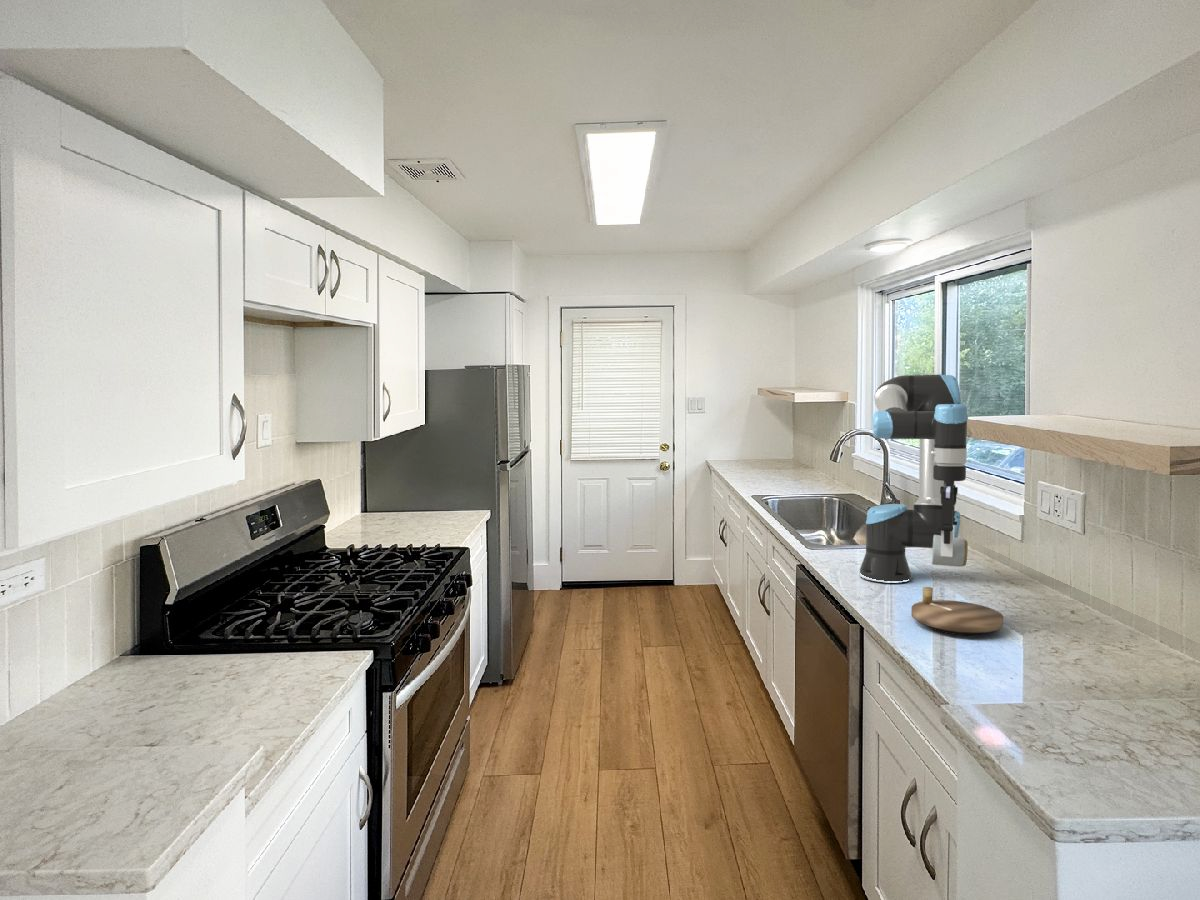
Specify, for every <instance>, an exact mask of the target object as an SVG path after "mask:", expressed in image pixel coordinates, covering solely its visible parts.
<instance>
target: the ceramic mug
mask: <svg viewBox="0 0 1200 900" xmlns="http://www.w3.org/2000/svg"><path fill="white" fill-rule="evenodd" d="M968 548H969V546H968V540H966V539H964V538H960V537H957V538H955V537H953V557H947V556H941V536H940V535H934V537H933V548H931V549H932V550H931V551H932V553H931V564H932V565H934V566H947V567H956V568H957V567H959V568H961V567H965V566H966V565H967V561H968V551H969V550H968Z"/></svg>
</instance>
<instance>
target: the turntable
mask: <svg viewBox="0 0 1200 900" xmlns="http://www.w3.org/2000/svg"><path fill="white" fill-rule="evenodd" d="M933 589H934V588H933V587H931V586H923V587H922V601H919V602H915V603H914V604H912V605H911V610H910V611H911V618H912V619H914V620H915V621H917V622H918V623H921V624H923V625H925V626H928V627H929V626H931V627H935V628H939V629H944V630H949V631H957V632H969V633H981V632H985V633H991V632H995V631H996V632H997V631H999V630H1001V629H1003V627H1004V615H1003V614H1002V613H1001V612H999V611H998V610H996V609H993V608H990V607H987V606H984V605H982V604H977V603H972V602H966V601H959V600H949V599H947V600H945V599H935V600H934V599H933V598H934V597H933V596H934V595H933V592H934V591H933ZM931 627H930V628H931Z"/></svg>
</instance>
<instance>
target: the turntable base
mask: <svg viewBox="0 0 1200 900" xmlns="http://www.w3.org/2000/svg"><path fill="white" fill-rule="evenodd" d="M928 627H929V628H931V629H933V630H935V629H936V630H935V631H938V630H939V631H938V632H941V631H942V633H945V632H947V633H946V634H951V633H954V634H953V635H958V634H962V635H961V636H975V635H976V634H977V636H978V635H983V634H985V633H986V632H981V633H969V632H957V631H949V630H944V629H939V628H935V627H931V626H928Z"/></svg>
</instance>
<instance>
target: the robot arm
mask: <svg viewBox="0 0 1200 900" xmlns="http://www.w3.org/2000/svg"><path fill="white" fill-rule="evenodd" d="M960 391H961V390H960V385H959V381H958V380H957V378H956V376H954V375H951V374H919V375H918V374H914V375H913V374H912V375H910V374H905V375H904V374H903V375H898V376H895V377H892V378H890V379H888V380H886V381H885V382H883V383H882V384H880V385H879V386H878V388H877V389H876V390H875V393H874V396H873V397H874V400H873V401H874V405H875V406H876V408H877V409H878V410H877V411H875V412H874V413H873V415H872V436H873V437H874V439H883V440H919V455H918V456H919V461H918V463H919V464H918V466H919V467H918V469H919V470H918V473H919V474H918V475H919V476H918V477H919V479H918V485H919V487H918V499H917V500H916V501H915V502H914V503H913V509H908V507H907V505H906V504H903V503H886V504H879V505H875V506H871V507H870V508H869V509H868V510H867V513H866V520H865V524H866V536H865V537H866V538H865V541H866V542H865V554H864V558H863V560H862V562H861V564H860V568H859V574H860V573H861V574H862V575H864V576H866V577H869V578H872V579H876V580H884V581H903V580H908V579H910V578H911V579H912V575H911V574H912V572H911V568H910V566H909V562H908V561H907V557H906V547H907V548H908V547H909V548H923V549H933V537H934V535H940V536H941V556H947V557H953V537H955V538H959V537H958V536H959V533H960V526H961V513H960V512H959V511H958V510H955V509H956V508H955V506H956V504H957V497H958V493H959V489H958V488H959V487H958V486H956V484H955V482H963V481H966V479H967V477H966V476H967V475H966V474H967V467H966V466H965V465H966V463H967V453H968V451H967V438H968V437H967V435H968V434H967V432H968V420H969V416H968V407H967V405H966V404H963V403H962V404H961V402H962V400H961V392H960Z"/></svg>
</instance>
